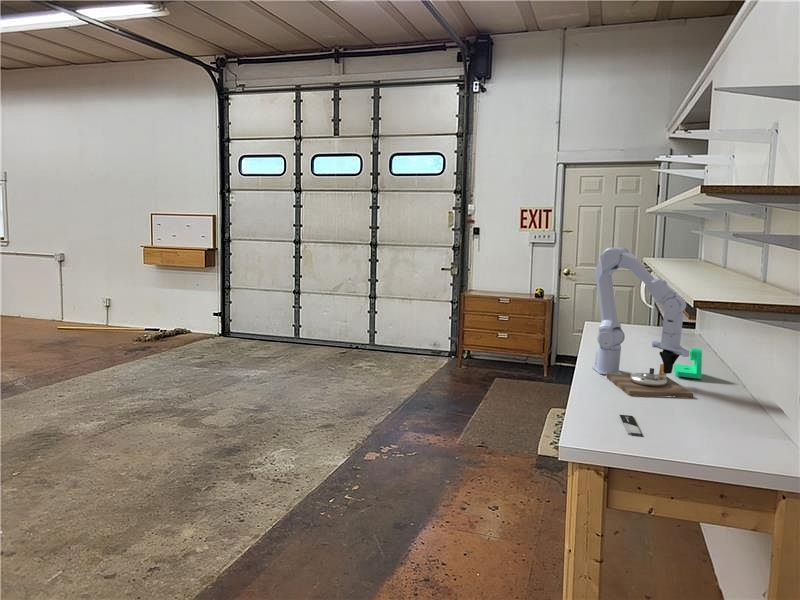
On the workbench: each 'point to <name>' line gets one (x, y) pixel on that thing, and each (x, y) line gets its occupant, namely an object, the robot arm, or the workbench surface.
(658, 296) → the robot arm
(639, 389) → the fixture board
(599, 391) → the workbench surface
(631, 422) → the computer memory module
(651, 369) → the dowel pin
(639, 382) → the flange plate
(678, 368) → the camera mount
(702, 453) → the workbench surface
